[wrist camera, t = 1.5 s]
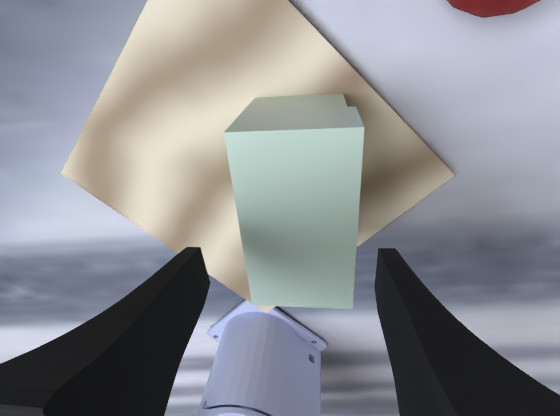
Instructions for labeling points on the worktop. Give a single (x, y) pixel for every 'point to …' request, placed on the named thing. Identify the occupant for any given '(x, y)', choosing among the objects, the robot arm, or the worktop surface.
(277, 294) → the sage container
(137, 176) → the birch board
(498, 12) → the red rounded piece
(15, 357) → the robot arm
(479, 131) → the worktop surface
